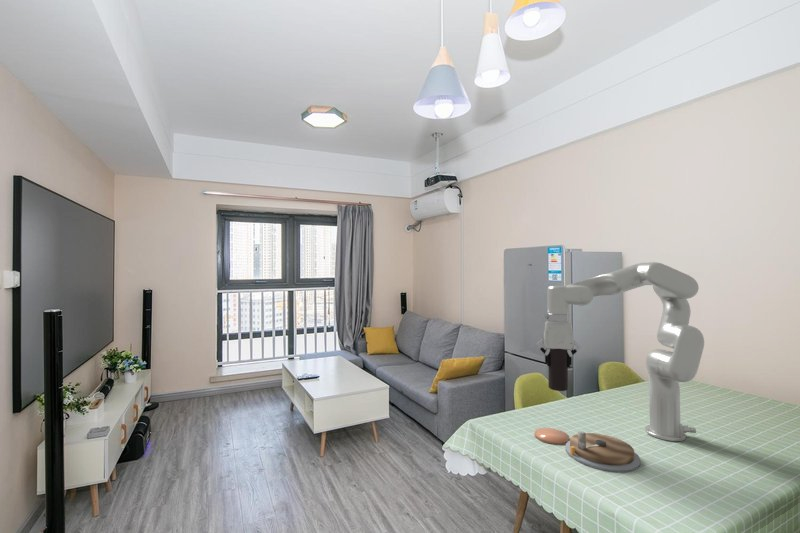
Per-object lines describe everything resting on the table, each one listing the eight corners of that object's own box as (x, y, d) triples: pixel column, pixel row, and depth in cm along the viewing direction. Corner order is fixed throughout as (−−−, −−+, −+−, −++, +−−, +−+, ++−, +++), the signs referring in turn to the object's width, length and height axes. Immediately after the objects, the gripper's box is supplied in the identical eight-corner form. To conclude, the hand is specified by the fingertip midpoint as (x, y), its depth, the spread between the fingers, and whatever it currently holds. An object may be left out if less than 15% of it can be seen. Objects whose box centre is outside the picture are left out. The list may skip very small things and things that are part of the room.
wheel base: (626, 443, 136) (626, 434, 136) (651, 475, 114) (651, 464, 114) (560, 437, 141) (560, 428, 141) (572, 467, 119) (572, 456, 119)
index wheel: (584, 434, 141) (584, 415, 141) (643, 452, 126) (642, 431, 127) (559, 449, 128) (559, 428, 129) (621, 471, 114) (621, 448, 114)
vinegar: (569, 392, 139) (569, 337, 139) (550, 390, 140) (550, 336, 141) (565, 386, 146) (565, 334, 146) (546, 385, 147) (547, 333, 148)
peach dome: (565, 432, 146) (565, 429, 146) (572, 445, 134) (572, 443, 134) (532, 429, 149) (532, 426, 149) (536, 442, 137) (536, 439, 137)
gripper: (534, 318, 142) (534, 366, 142) (585, 320, 138) (585, 370, 138) (532, 316, 149) (532, 362, 149) (580, 318, 145) (580, 365, 145)
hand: (558, 365), depth 143 cm, fingers closed on vinegar, 6 cm apart
